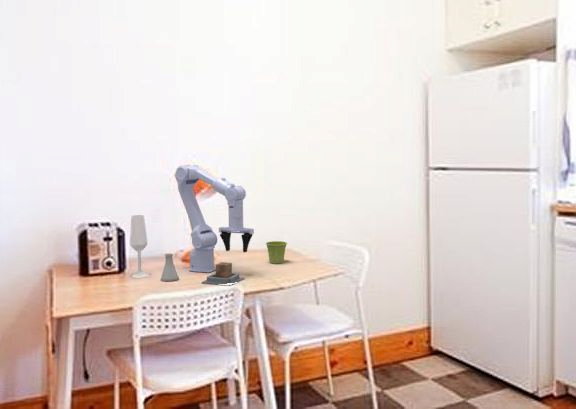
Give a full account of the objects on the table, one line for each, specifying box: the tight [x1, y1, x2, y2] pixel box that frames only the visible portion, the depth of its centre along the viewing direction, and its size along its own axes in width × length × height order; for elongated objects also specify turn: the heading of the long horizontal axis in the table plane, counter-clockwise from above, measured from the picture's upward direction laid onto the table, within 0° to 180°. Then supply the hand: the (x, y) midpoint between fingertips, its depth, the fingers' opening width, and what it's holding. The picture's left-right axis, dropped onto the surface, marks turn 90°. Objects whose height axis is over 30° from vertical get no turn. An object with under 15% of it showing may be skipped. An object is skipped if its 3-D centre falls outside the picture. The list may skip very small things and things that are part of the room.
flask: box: [160, 252, 180, 282], centre depth 218 cm, size 7×7×10 cm
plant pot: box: [265, 240, 288, 265], centre depth 248 cm, size 9×9×9 cm
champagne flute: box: [129, 214, 149, 279], centre depth 224 cm, size 7×7×24 cm
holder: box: [201, 272, 245, 286], centre depth 214 cm, size 12×12×2 cm
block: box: [215, 261, 233, 278], centre depth 215 cm, size 4×4×6 cm
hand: (236, 251), depth 225 cm, fingers open, 7 cm apart
